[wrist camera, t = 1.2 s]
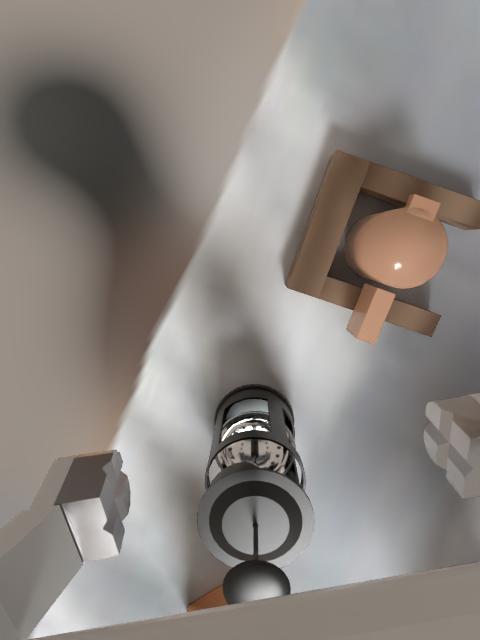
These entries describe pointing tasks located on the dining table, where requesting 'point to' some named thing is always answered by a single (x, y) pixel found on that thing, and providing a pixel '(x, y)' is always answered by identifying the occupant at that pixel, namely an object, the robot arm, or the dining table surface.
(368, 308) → the tan rounded piece
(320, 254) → the brown block arch
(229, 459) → the french press
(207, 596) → the whiskey bottle
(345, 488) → the dining table surface
